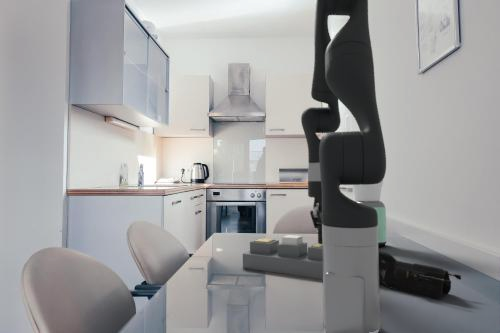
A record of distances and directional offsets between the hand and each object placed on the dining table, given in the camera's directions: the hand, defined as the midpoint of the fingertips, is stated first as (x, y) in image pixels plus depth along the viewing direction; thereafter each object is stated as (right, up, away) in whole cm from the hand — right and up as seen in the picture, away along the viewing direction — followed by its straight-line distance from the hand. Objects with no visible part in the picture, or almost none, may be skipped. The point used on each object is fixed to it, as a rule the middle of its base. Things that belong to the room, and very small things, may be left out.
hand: (322, 243), depth 92 cm
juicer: (+26, -9, +38) cm, 47 cm away
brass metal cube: (0, -4, 0) cm, 4 cm away
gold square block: (-15, -4, +9) cm, 18 cm away
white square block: (-8, -2, +5) cm, 9 cm away
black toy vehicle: (+15, -8, -13) cm, 21 cm away
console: (-8, -8, +4) cm, 12 cm away
